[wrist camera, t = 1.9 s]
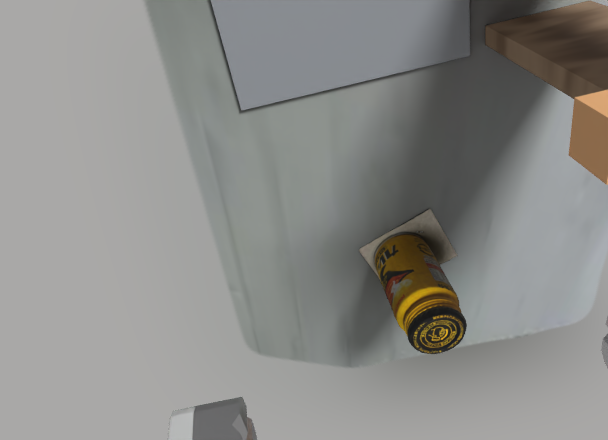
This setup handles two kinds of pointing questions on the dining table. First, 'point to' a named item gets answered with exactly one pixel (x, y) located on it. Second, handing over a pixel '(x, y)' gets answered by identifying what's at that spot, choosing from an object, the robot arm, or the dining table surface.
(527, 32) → the walnut shelf
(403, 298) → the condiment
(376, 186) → the dining table surface
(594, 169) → the hammer with orange handle
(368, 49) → the grey mat
